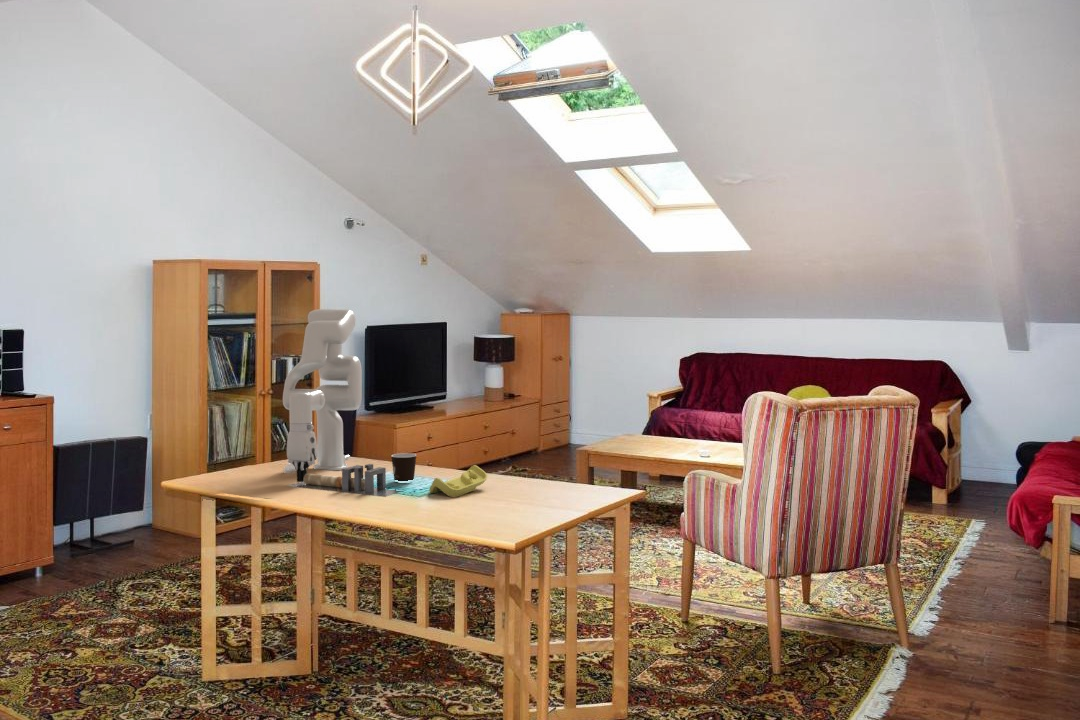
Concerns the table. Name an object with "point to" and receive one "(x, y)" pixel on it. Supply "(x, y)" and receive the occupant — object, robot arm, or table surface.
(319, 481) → the dowel
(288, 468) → the white creature statuette
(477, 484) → the plastic component
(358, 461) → the table surface
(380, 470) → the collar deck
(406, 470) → the coffee mug
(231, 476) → the table surface
